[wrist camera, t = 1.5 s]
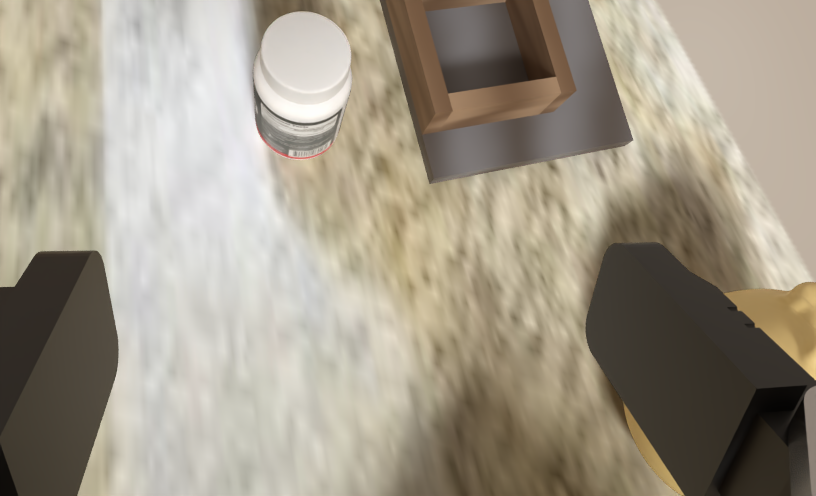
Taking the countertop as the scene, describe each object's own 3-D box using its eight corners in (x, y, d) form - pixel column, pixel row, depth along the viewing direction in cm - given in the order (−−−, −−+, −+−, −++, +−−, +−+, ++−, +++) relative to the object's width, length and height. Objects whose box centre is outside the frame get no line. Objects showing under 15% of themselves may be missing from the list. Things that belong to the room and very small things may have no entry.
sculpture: (792, 475, 38) (989, 513, 28) (619, 517, 35) (765, 577, 25) (747, 291, 40) (915, 261, 29) (579, 316, 37) (700, 293, 27)
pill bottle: (279, 70, 36) (282, -18, 28) (352, 108, 36) (376, 33, 28) (240, 137, 35) (231, 66, 27) (316, 176, 35) (331, 117, 27)
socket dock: (429, 183, 36) (448, 161, 33) (372, -30, 38) (383, -75, 35) (624, 145, 40) (662, 121, 36) (562, -49, 42) (591, -91, 38)
